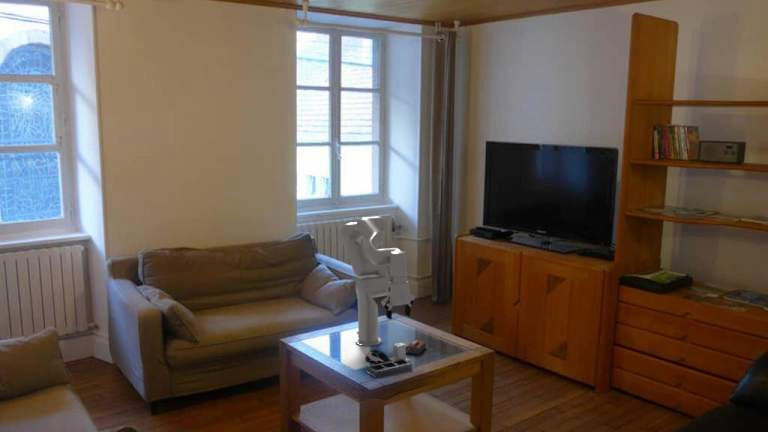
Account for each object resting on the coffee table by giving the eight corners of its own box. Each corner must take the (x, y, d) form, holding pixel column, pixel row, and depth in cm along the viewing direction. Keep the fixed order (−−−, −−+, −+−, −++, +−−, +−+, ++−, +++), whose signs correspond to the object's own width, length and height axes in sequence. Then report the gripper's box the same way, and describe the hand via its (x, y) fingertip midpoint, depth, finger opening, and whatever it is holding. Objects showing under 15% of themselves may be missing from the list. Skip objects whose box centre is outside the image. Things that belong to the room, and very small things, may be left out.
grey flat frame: (376, 377, 282) (376, 372, 282) (366, 371, 289) (366, 366, 289) (411, 369, 292) (411, 363, 291) (401, 363, 298) (401, 358, 298)
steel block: (393, 358, 303) (393, 343, 302) (401, 357, 305) (401, 342, 304) (397, 361, 300) (397, 346, 299) (405, 360, 301) (405, 344, 300)
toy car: (374, 358, 306) (374, 347, 305) (391, 365, 297) (391, 354, 296) (364, 361, 302) (364, 350, 302) (381, 369, 293) (381, 357, 293)
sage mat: (388, 359, 304) (388, 358, 304) (401, 356, 308) (401, 355, 308) (396, 364, 298) (396, 362, 298) (409, 361, 302) (409, 359, 302)
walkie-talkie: (409, 345, 324) (395, 356, 305) (409, 335, 323) (395, 347, 305) (426, 347, 321) (413, 359, 302) (427, 337, 320) (414, 349, 302)
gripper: (386, 283, 290) (386, 322, 293) (419, 278, 299) (419, 315, 302) (377, 280, 297) (377, 317, 299) (409, 275, 306) (409, 311, 308)
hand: (398, 316), depth 300 cm, fingers open, 9 cm apart
